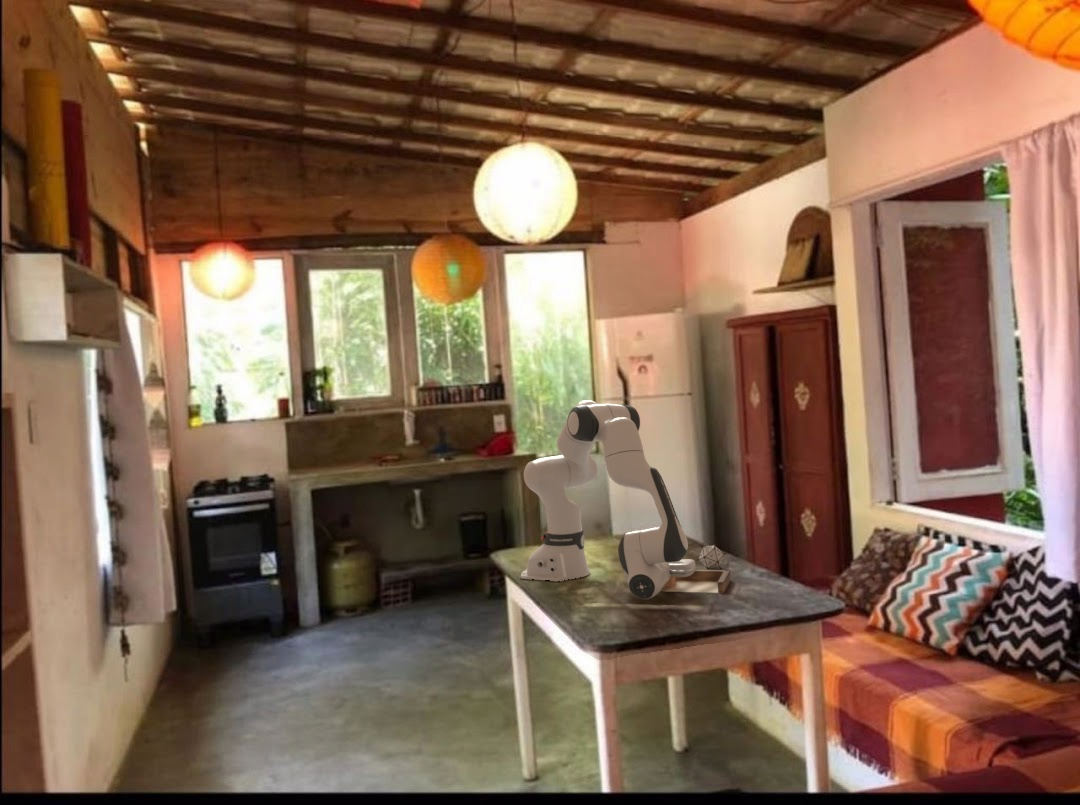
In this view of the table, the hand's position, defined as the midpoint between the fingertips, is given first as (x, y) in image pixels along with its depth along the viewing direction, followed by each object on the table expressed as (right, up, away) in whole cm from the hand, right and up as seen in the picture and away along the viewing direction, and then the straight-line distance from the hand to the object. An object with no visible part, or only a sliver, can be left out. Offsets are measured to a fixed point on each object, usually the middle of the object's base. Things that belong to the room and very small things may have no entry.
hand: (664, 560), depth 251 cm
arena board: (+7, -8, -3) cm, 11 cm away
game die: (+18, -6, +19) cm, 27 cm away
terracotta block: (0, -7, -1) cm, 7 cm away
